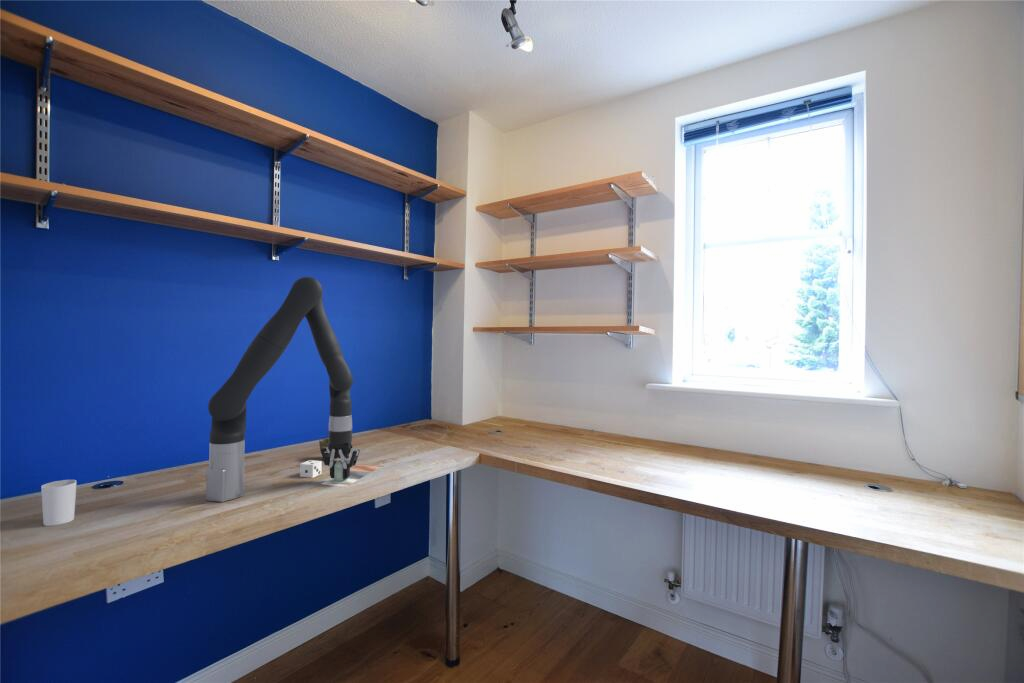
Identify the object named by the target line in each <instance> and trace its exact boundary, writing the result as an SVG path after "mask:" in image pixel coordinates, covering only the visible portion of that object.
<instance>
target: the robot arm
mask: <svg viewBox="0 0 1024 683" xmlns="http://www.w3.org/2000/svg"><path fill="white" fill-rule="evenodd" d="M323 294H324V292H323V286H322V284H321V283H320V281H318V279H316V278H314V277H311V276H304V277H300V278H298V279H296V280H295V281H294V282H293V284H292V285H291V288H290V290H289V292H288V294H287V296H286V297H285V299H284V301H283V302H282V304H281V306H280V307H279V308H278V310H277V311H276V312H275V313H274V315H272V316H271V318H270V319H269V320H268V321H267V322H266V323H265V324H264V325H263V327H262V328H261V329H260V331H259V332H258V333H257V334H256V336H255V337H254V338H253V340H252V341H251V343H250V344H249V345H248V347H247V349H246V350H245V352H244V353H243V355H242V357H241V358H240V360H239V361H238V364H237V366H236V367H235V369H234V371H233V373H231V375H230V376H229V378H227V380H226V381H225V382H224V384H223V385H222V386H221V387H220V388H219V389H218V390H217V391H216V393H214V394H213V395H212V396H211V398H210V399H209V401H208V404H207V408H208V409H207V410H208V414H209V415H210V416H211V425H210V432H209V445H208V446H209V449H208V450H209V451H208V452H209V453H208V455H209V460H208V462H209V463H208V465H209V466H208V468H206V470H205V474H206V475H205V477H206V478H205V501H211V502H221V503H224V502H227V501H230V500H236V499H238V498H240V497H242V496H244V494H245V449H246V448H245V446H246V445H245V441H246V440H245V439H246V429H247V428H246V427H247V426H246V425H247V424H246V423H247V401H248V400H249V397H251V394H252V392H253V391H254V389H255V388H256V386H257V385H258V383H259V382H261V381H262V379H263V378H264V377H265V376H266V375H267V374H268V372H270V371H271V369H272V368H273V367H274V366H275V364H276V363H277V362H278V360H279V359H280V358H281V356H283V354H284V353H285V350H286V349H287V348H288V346H289V345H290V342H291V341H292V340H293V338H294V336H295V333H296V332H297V330H298V328H299V326H300V324H301V323H302V321H303V319H304V318H305V319H306V321H307V324H308V326H309V329H310V331H311V335H312V338H313V341H314V344H315V347H316V350H317V353H318V356H319V358H320V359H321V362H322V364H323V365H324V367H325V370H326V372H327V375H328V378H329V379H328V380H329V382H328V383H329V384H328V385H329V386H328V388H329V398H330V399H329V400H330V402H329V417H328V418H329V419H328V439H329V446H328V447H324V448H322V449H321V451H320V454H321V453H322V454H321V456H322V460H323V464H324V466H328V468H329V477H330V479H331V478H334V467H335V463H336V462H337V461H339V460H341V462H342V463H343V466H344V469H343V479H344V480H346V479H349V478H348V477H349V476H350V469H351V468H353V467H355V466H356V465H357V461H358V459H359V455H360V452H361V451H360V449H355V448H354V447H353V445H352V443H353V442H352V441H353V417H352V416H353V415H352V413H353V412H352V408H353V407H352V405H353V404H352V400H351V388H352V386H353V385H354V379H353V375H352V372H351V370H350V368H349V365H348V364H347V361H346V360H345V357H344V353H343V351H342V348H341V346H340V343H339V340H338V338H337V336H336V334H335V331H334V329H333V328H332V325H331V323H330V321H329V319H328V317H327V316H328V315H327V314H326V311H325V307H324V303H323ZM329 451H330V453H331V457H330V454H329ZM350 455H351V456H350Z"/></svg>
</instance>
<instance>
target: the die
mask: <svg viewBox="0 0 1024 683" xmlns="http://www.w3.org/2000/svg"><path fill="white" fill-rule="evenodd" d="M322 463H323V462H322V460H313V459H309V460H307V461H303V462H302V463H300V464H299V470H300V471H299V477H300V478H312V479H313V478H315V477H318V476H319V475H322V468H323V467H322V465H323V464H322Z"/></svg>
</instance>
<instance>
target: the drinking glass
mask: <svg viewBox="0 0 1024 683" xmlns="http://www.w3.org/2000/svg"><path fill="white" fill-rule="evenodd" d="M77 484H78V483H77V480H76V479H63V480H62V479H61V480H55V481H51V482H48V483H45V484H42V485H41V486H40V487H41V489H40V490H41V504H42V522H43V525H44V526H46V527H50V526H51V527H52V526H58V525H64V524H67V523H69V522H72V521H73V520H75V510H76V509H75V508H76V496H77V495H76V494H77Z"/></svg>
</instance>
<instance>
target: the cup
mask: <svg viewBox="0 0 1024 683" xmlns="http://www.w3.org/2000/svg"><path fill="white" fill-rule="evenodd" d="M318 442H319V450H320V455H322V453H321V449H322V448H324V447H328V446H329V437H325V438H322V439H319V440H318ZM329 454H330V457H331V453H330V451H329Z"/></svg>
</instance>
